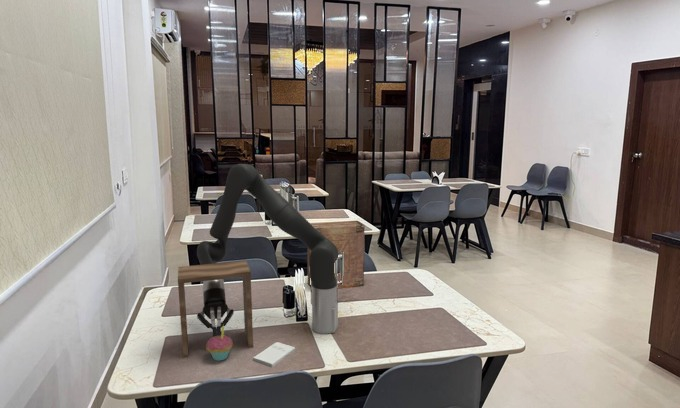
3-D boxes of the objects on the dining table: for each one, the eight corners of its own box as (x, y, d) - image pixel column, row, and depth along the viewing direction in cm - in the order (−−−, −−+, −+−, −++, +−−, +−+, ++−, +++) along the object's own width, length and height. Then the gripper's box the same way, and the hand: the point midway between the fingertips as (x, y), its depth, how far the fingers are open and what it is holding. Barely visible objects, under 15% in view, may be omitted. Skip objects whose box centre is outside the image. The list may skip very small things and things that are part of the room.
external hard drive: (252, 361, 144) (276, 345, 155) (272, 368, 140) (295, 351, 151) (252, 357, 144) (276, 341, 155) (272, 363, 140) (295, 346, 151)
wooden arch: (183, 340, 157) (178, 266, 152) (248, 331, 164) (245, 260, 159) (183, 358, 145) (177, 279, 140) (253, 347, 152) (250, 271, 147)
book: (312, 291, 203) (311, 228, 197) (307, 285, 211) (306, 224, 206) (363, 285, 210) (364, 224, 205) (357, 279, 219) (357, 220, 214)
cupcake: (238, 353, 149) (236, 319, 146) (223, 365, 141) (222, 331, 139) (216, 348, 151) (214, 316, 149) (201, 361, 143) (199, 326, 141)
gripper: (194, 289, 154) (196, 337, 145) (233, 285, 158) (237, 332, 149) (195, 297, 160) (197, 345, 151) (232, 293, 164) (236, 339, 155)
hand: (217, 338), depth 150 cm, fingers closed
